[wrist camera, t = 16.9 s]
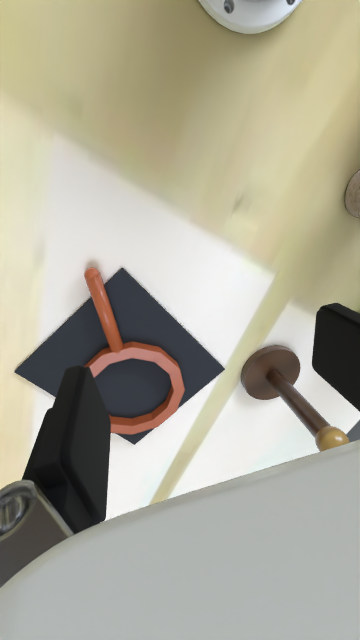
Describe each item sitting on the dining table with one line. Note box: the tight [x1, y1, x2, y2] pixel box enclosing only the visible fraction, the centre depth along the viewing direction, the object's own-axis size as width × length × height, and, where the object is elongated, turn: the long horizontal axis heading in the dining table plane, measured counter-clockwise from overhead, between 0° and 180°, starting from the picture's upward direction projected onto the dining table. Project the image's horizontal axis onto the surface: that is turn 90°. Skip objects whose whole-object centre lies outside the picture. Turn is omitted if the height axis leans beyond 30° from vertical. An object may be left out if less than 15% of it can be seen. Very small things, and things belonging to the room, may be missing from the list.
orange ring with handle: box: [84, 268, 185, 435], centre depth 32 cm, size 24×14×2 cm, turn 10°
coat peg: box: [241, 346, 350, 452], centre depth 33 cm, size 9×9×15 cm
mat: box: [15, 268, 225, 445], centre depth 34 cm, size 20×18×1 cm
